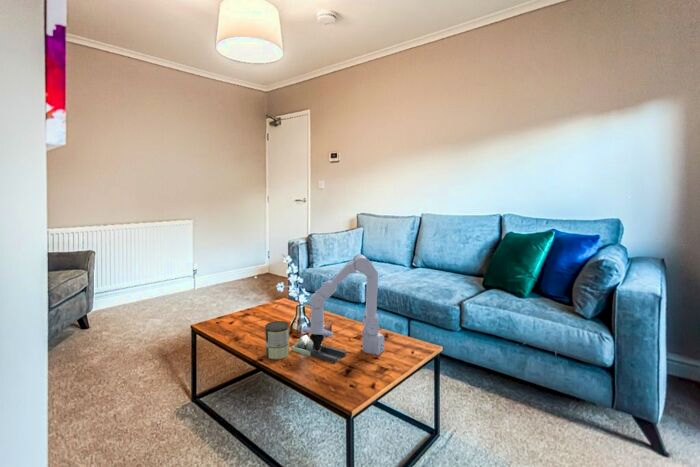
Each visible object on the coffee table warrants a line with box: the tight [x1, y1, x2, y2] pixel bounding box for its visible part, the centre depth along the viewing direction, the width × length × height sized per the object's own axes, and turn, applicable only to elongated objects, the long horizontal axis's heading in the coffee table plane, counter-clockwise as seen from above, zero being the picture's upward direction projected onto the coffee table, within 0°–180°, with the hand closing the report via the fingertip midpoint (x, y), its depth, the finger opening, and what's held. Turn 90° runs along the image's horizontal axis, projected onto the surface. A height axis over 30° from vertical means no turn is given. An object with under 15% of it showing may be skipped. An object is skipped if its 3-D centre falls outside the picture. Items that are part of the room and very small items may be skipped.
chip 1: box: [296, 334, 311, 350], centre depth 169 cm, size 4×4×4 cm
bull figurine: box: [322, 320, 333, 341], centre depth 181 cm, size 4×13×8 cm, turn 152°
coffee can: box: [264, 320, 290, 360], centre depth 162 cm, size 10×10×14 cm
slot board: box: [310, 344, 347, 364], centre depth 161 cm, size 13×9×3 cm
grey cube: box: [305, 339, 315, 352], centre depth 167 cm, size 4×4×4 cm
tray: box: [291, 343, 323, 357], centre depth 168 cm, size 11×9×2 cm
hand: (317, 350), depth 164 cm, fingers closed
